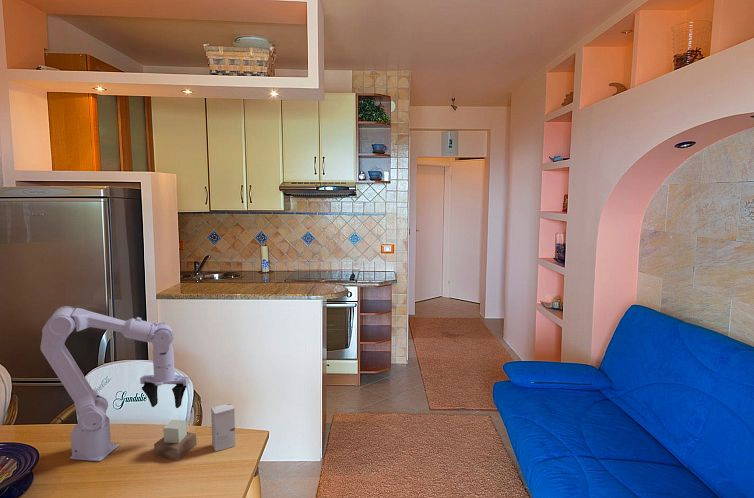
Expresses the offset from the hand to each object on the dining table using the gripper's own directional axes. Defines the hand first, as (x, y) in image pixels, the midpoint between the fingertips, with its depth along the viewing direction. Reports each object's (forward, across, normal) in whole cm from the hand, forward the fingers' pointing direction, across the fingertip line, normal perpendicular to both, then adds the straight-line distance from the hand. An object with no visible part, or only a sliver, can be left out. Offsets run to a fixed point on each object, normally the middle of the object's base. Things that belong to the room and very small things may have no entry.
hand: (166, 405), depth 137 cm
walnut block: (+11, +6, -6) cm, 14 cm away
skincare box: (+11, +19, -3) cm, 22 cm away
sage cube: (+7, +6, -6) cm, 11 cm away
